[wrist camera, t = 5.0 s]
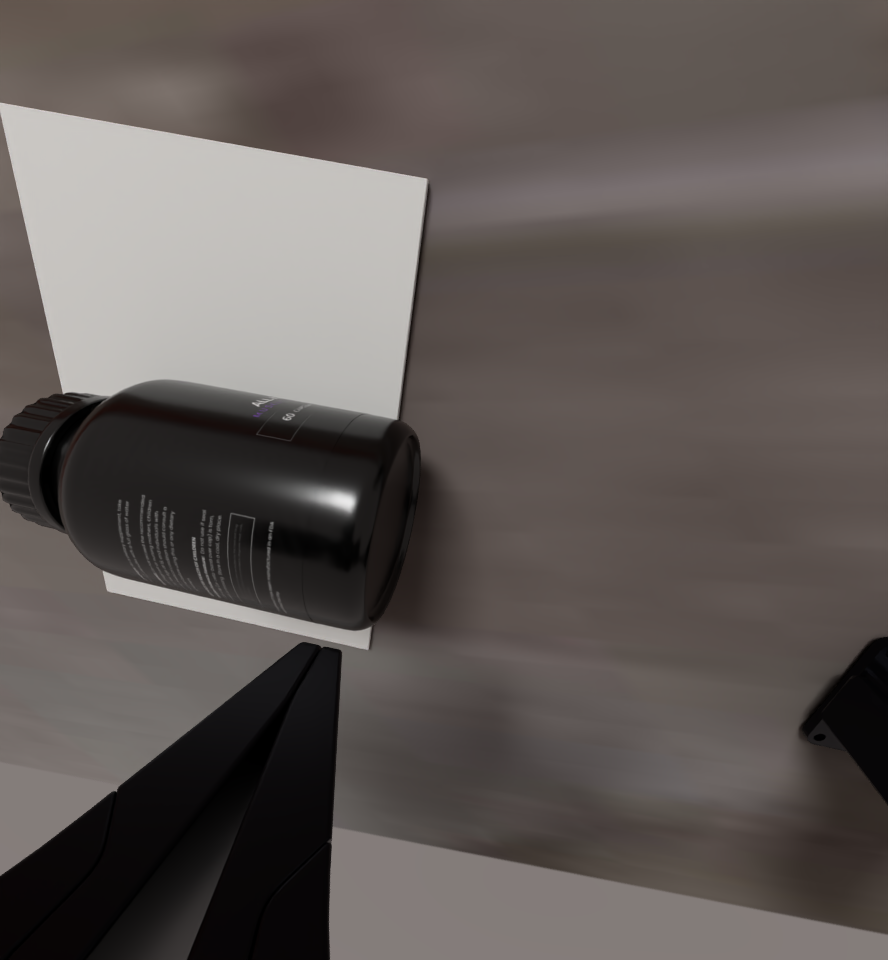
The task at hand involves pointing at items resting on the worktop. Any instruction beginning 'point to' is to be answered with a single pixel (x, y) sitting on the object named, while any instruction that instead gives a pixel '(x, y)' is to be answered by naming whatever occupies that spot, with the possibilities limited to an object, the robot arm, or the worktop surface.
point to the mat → (218, 277)
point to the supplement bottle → (223, 494)
